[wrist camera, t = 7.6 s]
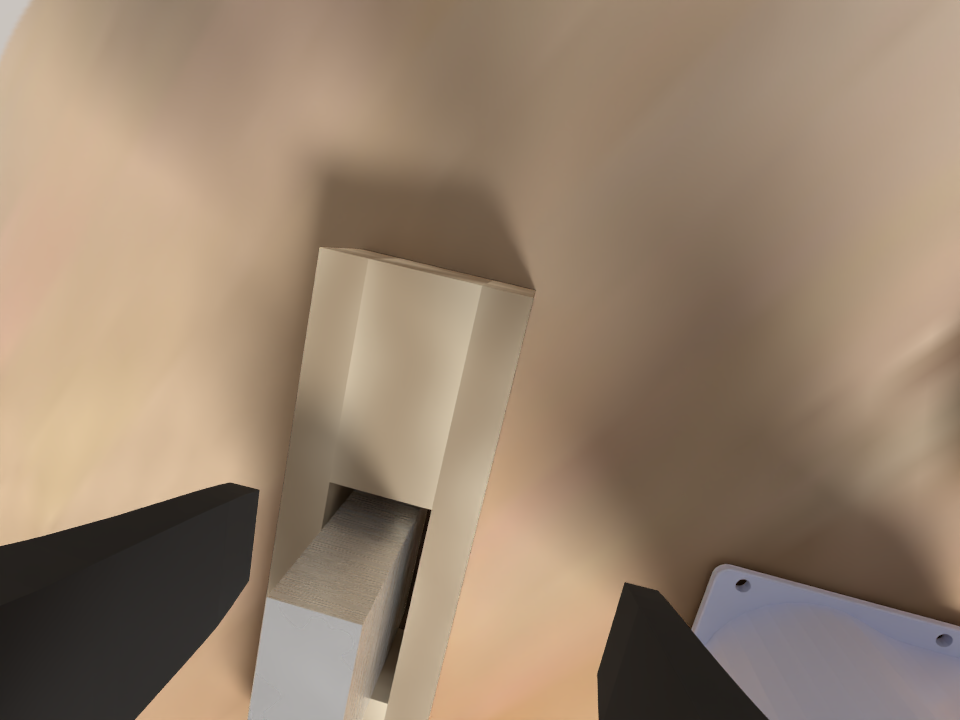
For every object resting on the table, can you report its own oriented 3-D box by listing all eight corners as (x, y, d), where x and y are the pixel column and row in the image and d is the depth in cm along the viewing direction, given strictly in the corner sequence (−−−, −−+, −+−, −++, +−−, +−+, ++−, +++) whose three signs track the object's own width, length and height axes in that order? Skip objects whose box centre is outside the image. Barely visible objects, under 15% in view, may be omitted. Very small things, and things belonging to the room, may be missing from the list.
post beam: (535, 290, 18) (533, 297, 14) (414, 777, 23) (391, 869, 19) (361, 248, 18) (319, 246, 15) (278, 734, 23) (232, 817, 20)
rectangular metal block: (434, 480, 20) (362, 625, 12) (404, 611, 21) (323, 818, 13) (374, 464, 20) (266, 597, 12) (349, 595, 21) (236, 790, 13)
